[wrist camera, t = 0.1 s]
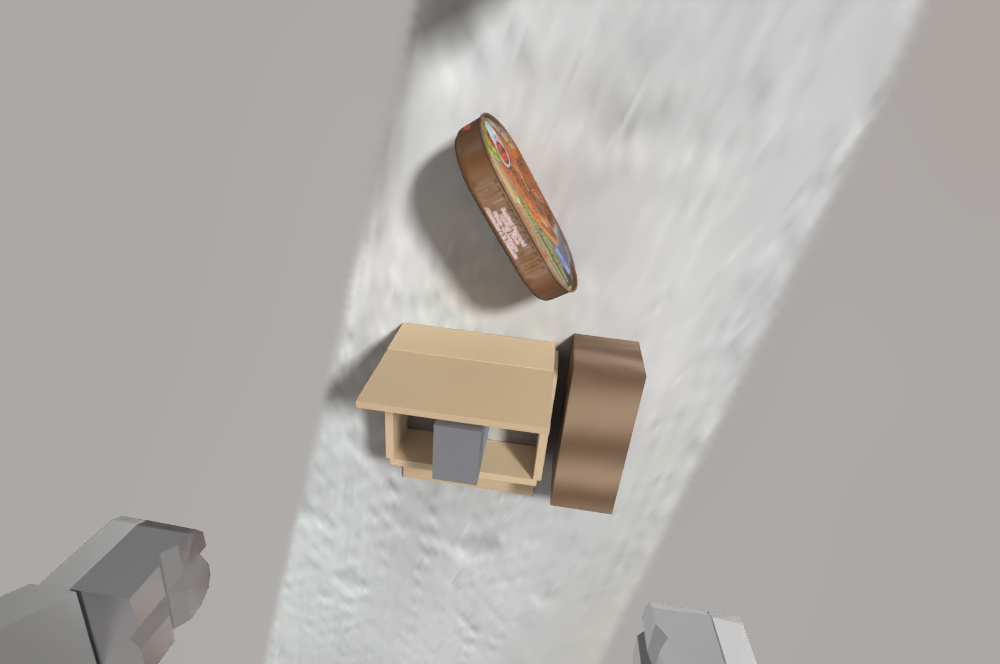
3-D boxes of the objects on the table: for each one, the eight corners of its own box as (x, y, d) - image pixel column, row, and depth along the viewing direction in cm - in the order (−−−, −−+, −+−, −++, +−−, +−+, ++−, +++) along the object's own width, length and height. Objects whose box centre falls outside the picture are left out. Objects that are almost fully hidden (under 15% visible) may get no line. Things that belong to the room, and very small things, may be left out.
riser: (574, 333, 51) (574, 367, 45) (638, 342, 50) (646, 376, 45) (552, 463, 58) (550, 505, 53) (608, 471, 58) (611, 514, 52)
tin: (580, 266, 48) (581, 306, 40) (548, 281, 49) (543, 323, 41) (495, 104, 42) (479, 117, 35) (461, 125, 43) (438, 141, 36)
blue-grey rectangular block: (456, 363, 54) (433, 425, 45) (496, 368, 53) (481, 431, 45) (454, 411, 57) (432, 478, 48) (491, 417, 56) (476, 485, 48)
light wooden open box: (399, 322, 52) (350, 399, 41) (559, 343, 51) (555, 428, 40) (400, 474, 62) (360, 571, 50) (536, 494, 61) (527, 598, 49)
